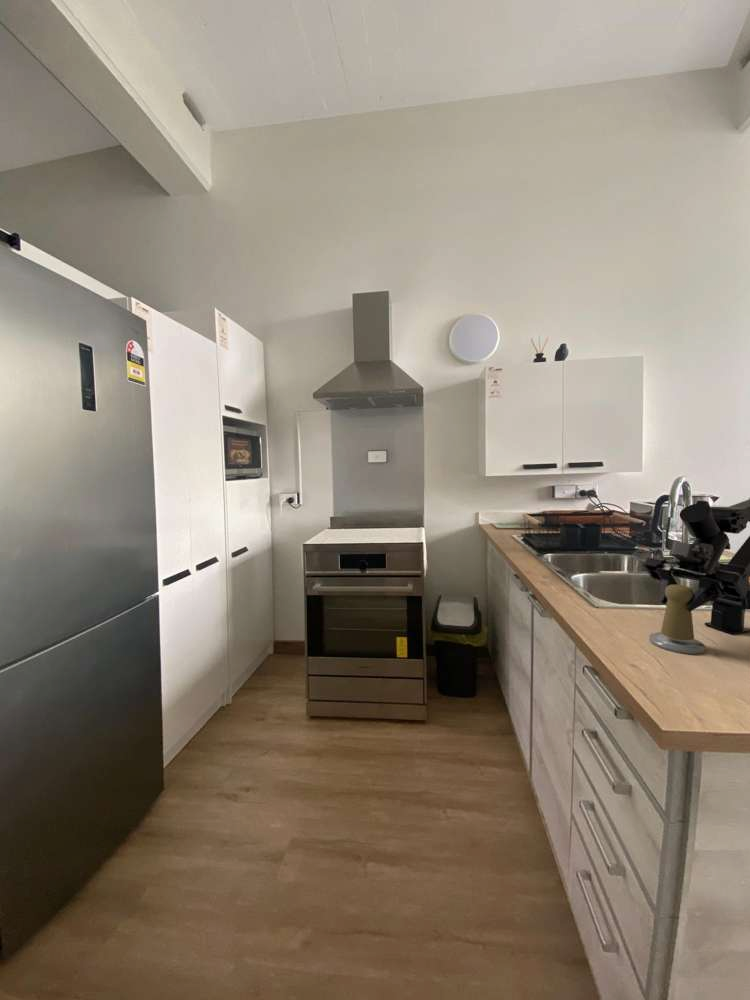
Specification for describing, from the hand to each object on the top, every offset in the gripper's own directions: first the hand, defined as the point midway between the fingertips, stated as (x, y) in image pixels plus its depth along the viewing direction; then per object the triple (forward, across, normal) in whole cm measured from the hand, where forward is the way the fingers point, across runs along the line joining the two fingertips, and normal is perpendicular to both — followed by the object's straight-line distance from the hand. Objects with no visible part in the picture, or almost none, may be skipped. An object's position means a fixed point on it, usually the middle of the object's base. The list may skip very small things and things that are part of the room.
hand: (675, 606), depth 93 cm
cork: (+4, 0, +6) cm, 7 cm away
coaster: (+5, 0, +7) cm, 9 cm away
